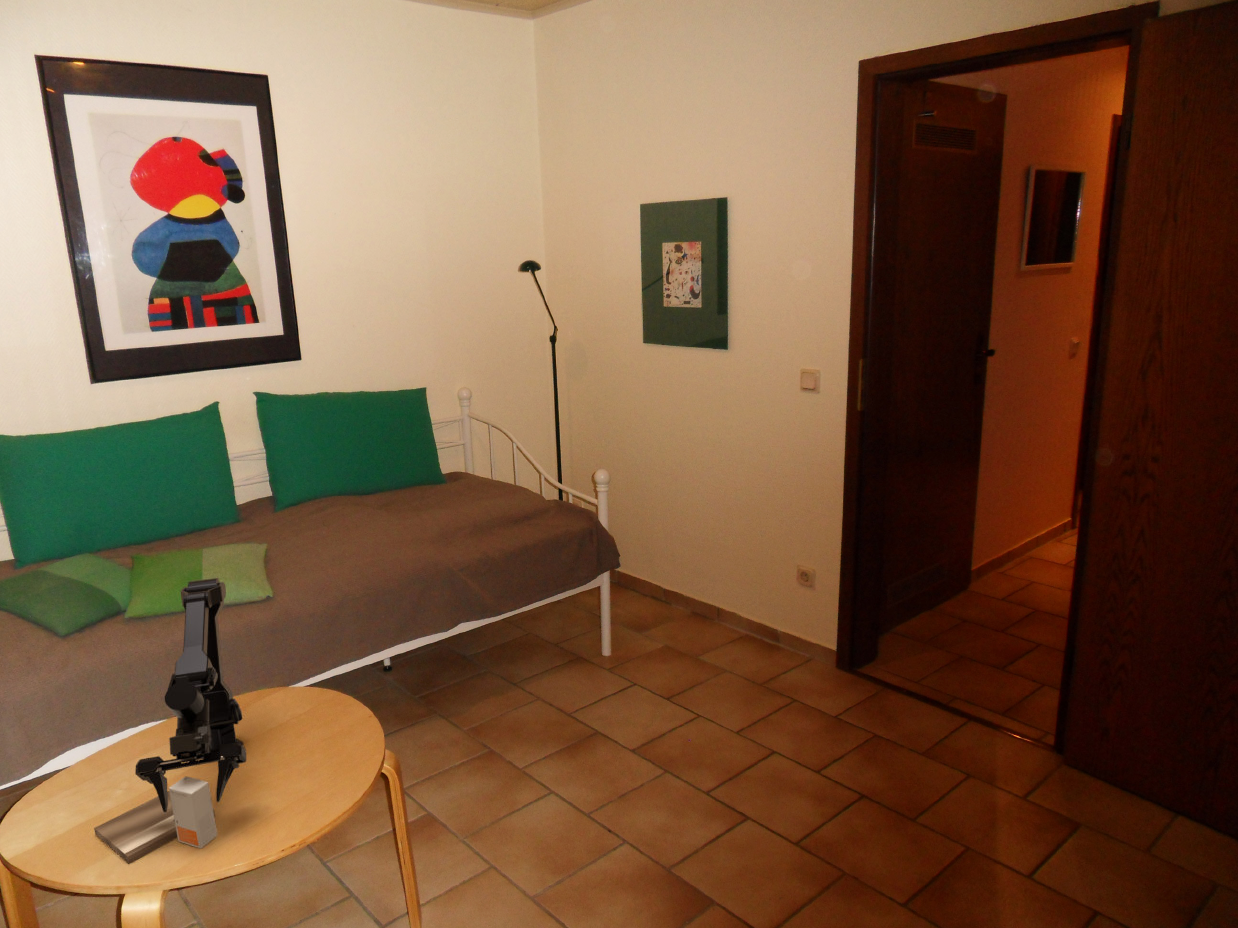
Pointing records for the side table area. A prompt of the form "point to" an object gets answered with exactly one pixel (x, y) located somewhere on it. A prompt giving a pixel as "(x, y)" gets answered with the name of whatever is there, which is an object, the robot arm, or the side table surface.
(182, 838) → the skincare box
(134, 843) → the bent metal bracket plate
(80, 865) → the side table surface
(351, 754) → the side table surface
